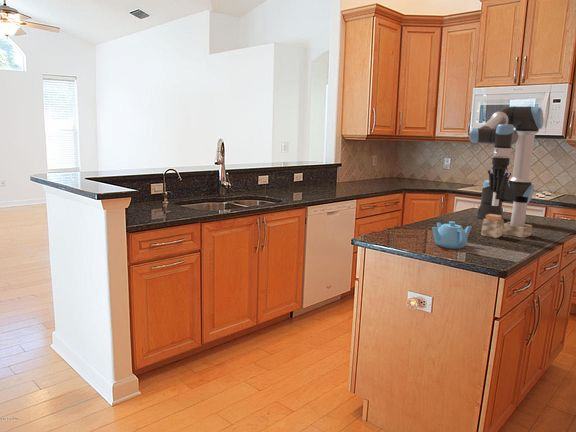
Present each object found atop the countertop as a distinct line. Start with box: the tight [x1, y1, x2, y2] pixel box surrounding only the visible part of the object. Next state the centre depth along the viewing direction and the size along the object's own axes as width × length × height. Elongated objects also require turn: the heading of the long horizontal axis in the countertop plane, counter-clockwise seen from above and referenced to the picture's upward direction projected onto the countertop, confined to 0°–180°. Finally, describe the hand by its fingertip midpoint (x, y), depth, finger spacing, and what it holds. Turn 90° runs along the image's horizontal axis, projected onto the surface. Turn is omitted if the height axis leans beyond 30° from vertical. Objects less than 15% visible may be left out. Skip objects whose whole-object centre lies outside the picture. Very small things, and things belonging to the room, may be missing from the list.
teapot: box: [431, 220, 473, 250], centre depth 206 cm, size 15×15×11 cm
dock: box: [480, 219, 533, 239], centre depth 231 cm, size 16×22×8 cm
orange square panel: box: [485, 214, 502, 222], centre depth 228 cm, size 6×6×3 cm
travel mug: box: [510, 196, 528, 227], centre depth 232 cm, size 6×7×20 cm
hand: (495, 205), depth 227 cm, fingers closed
